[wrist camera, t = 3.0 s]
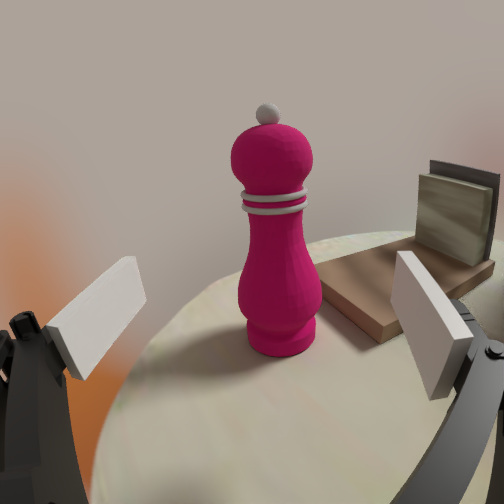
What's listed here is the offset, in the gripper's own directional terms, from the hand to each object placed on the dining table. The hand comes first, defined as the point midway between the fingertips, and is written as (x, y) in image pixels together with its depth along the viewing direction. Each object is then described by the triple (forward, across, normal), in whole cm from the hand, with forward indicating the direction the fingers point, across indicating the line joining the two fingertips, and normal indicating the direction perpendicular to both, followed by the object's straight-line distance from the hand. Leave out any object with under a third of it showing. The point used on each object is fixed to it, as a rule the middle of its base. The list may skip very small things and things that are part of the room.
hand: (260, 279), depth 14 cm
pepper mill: (+10, 0, -11) cm, 15 cm away
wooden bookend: (+20, +16, -11) cm, 28 cm away
